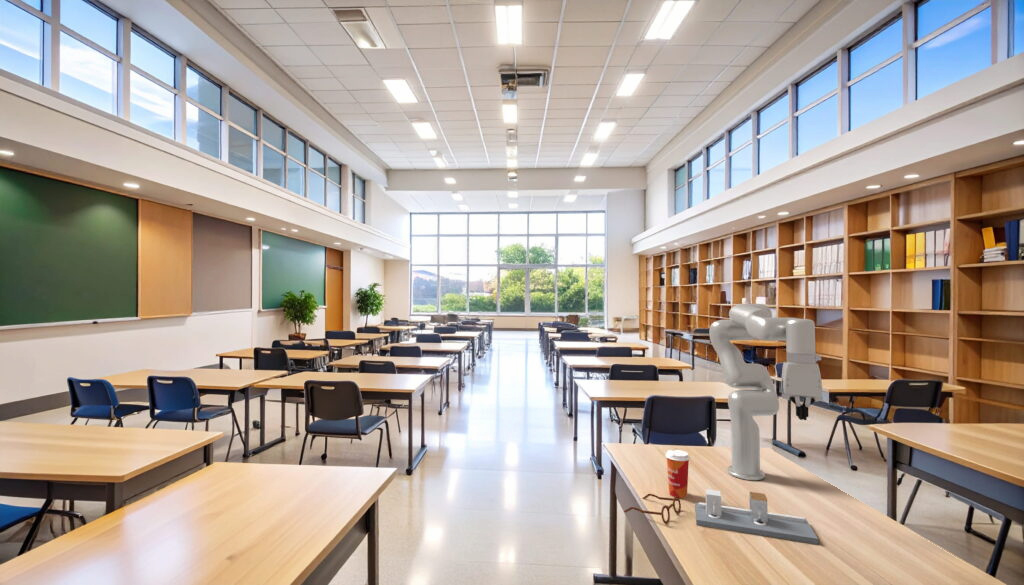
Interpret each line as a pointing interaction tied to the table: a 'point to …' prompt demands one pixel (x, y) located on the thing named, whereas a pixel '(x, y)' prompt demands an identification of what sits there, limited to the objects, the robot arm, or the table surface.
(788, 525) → the divider plate
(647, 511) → the glasses
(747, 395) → the robot arm
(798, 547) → the table surface
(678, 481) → the paper cup
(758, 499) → the block
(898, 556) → the table surface
